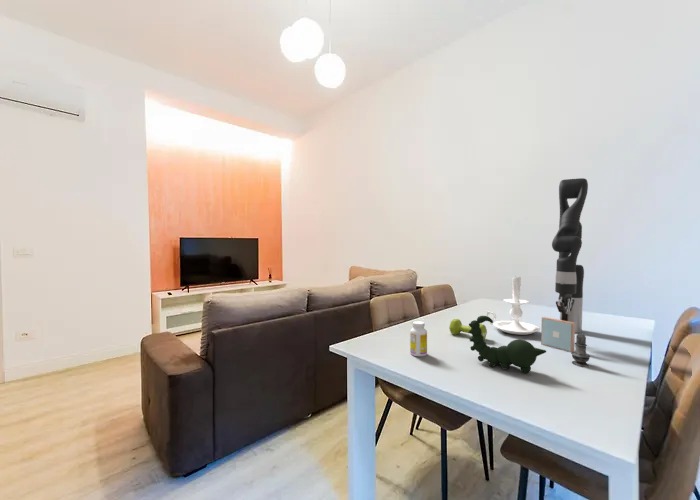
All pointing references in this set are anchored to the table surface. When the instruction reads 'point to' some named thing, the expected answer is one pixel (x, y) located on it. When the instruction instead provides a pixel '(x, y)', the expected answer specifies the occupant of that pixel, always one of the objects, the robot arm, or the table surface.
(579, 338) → the grey ridged upright piece
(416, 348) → the supplement bottle
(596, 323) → the table surface
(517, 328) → the candlestick
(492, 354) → the toy figurine
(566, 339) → the picture frame
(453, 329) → the dumbbell
